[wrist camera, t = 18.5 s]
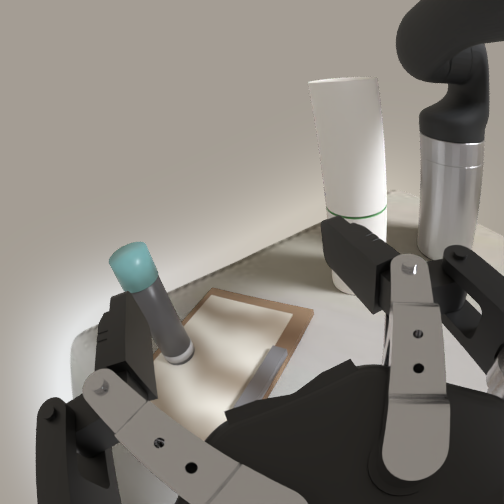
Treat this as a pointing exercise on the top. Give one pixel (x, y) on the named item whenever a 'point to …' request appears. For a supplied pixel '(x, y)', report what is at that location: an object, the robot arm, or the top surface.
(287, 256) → the top surface
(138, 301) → the marker
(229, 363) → the clipboard
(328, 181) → the cylindrical container
